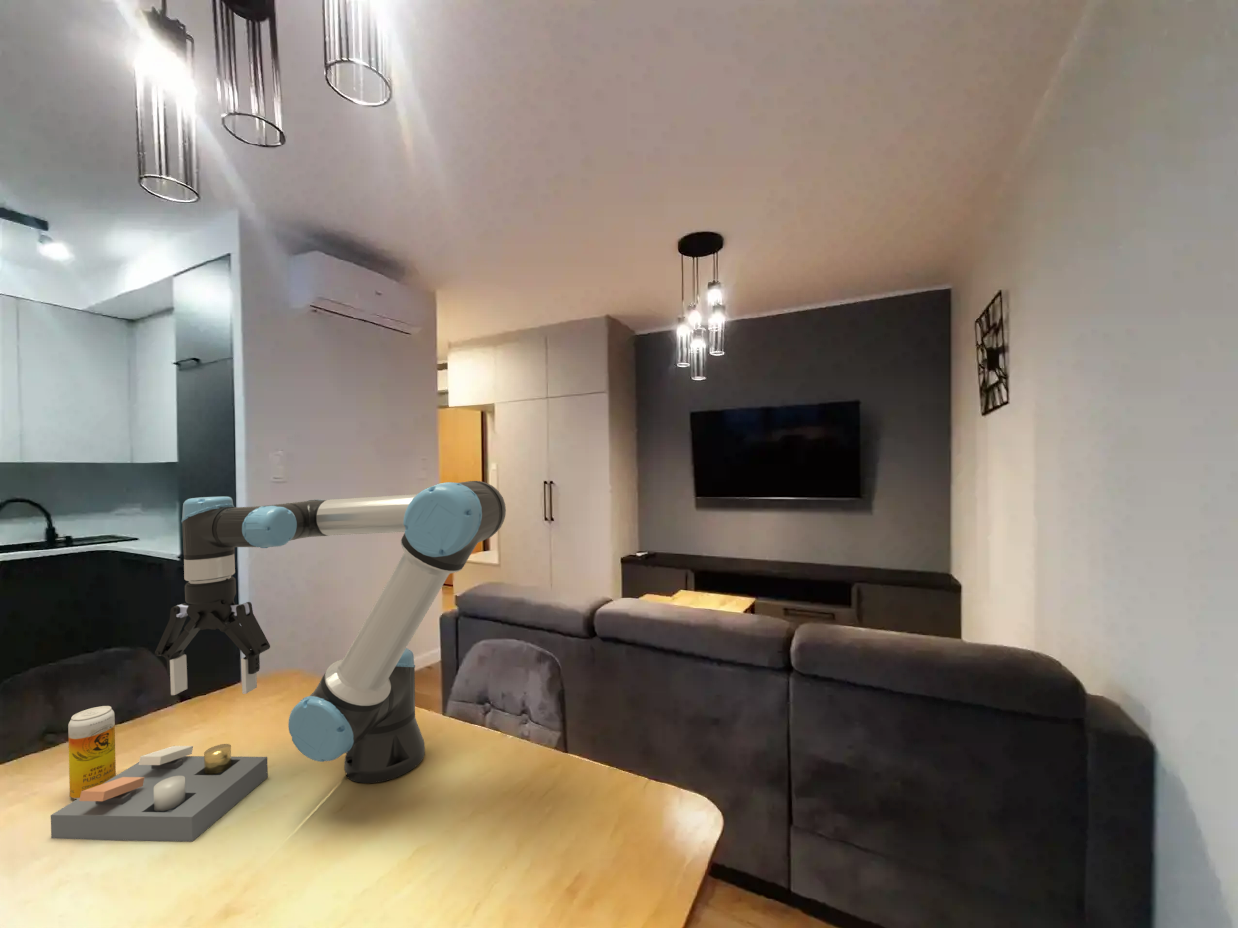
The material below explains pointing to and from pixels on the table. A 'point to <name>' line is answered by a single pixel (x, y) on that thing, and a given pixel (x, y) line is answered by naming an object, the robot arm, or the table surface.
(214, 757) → the gold rounded piece
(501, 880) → the table surface
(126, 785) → the terracotta rocker
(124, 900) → the table surface
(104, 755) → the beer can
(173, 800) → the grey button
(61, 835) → the grey slotted tray
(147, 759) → the white rocker
